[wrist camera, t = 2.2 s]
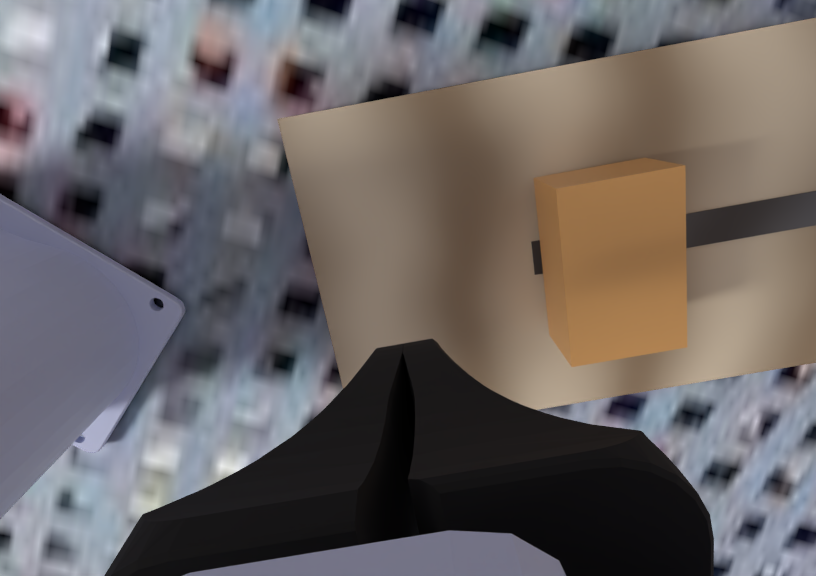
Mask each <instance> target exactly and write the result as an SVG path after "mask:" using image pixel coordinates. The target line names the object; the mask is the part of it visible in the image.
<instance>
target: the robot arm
mask: <svg viewBox="0 0 816 576" xmlns="http://www.w3.org/2000/svg"><path fill="white" fill-rule="evenodd" d="M154 298H158V299H160V300H161V301H162V302H163V304H164V306H163V307H158V306H157V305H156V304H155V303H154ZM184 313H185V306H184V304H183V302H182V301H181V300H180V299H179V298H177V297H175V296H174V295H172V294H170V293H169V292H167V291H165V290H163V289H162V288H160V287H158V286H157V285H155V284H153V283H151V282H150V281H148V280H146V279H145V278H143V277H141V276H140V275H138V274H136V273H134V272H133V271H131V270H129V269H128V268H126V267H124V266H123V265H121V264H119V263H117V262H116V261H114V260H112V259H111V258H109V257H107V256H105V255H104V254H102V253H100V252H99V251H97V250H95V249H94V248H92V247H90V246H88V245H87V244H85V243H83V242H82V241H80V240H78V239H77V238H75V237H73V236H71V235H70V234H68V233H66V232H65V231H63V230H61V229H59V228H58V227H56V226H54V225H53V224H51V223H49V222H48V221H46V220H44V219H42V218H41V217H39V216H37V215H36V214H34V213H32V212H30V211H29V210H27V209H25V208H24V207H22V206H20V205H19V204H17V203H15V202H13V201H12V200H10V199H8V198H7V197H5V196H3V195H2V194H0V519H1V518H2V517H3V516H4V515H5V514H6V513H7V512H8V510H9V509H10V508H11V507H12V506H13V505H14V504H15V503H16V502H17V501H18V500H19V499H20V498H21V497H22V496H23V495H24V494H25V493H26V492H27V491H28V490H29V489H30V487H31V486H32V485H33V484H34V483H35V482H36V481H37V480H38V479H39V478H40V477H41V476H42V475H43V474H44V473H45V472H46V471H47V470H48V469H49V468H50V467H51V466H52V464H53V463H54V462H55V461H56V460H57V459H58V458H59V457H60V456H61V455H62V454H63V453H64V452H65V451H66V450H67V449H68V448H69V447H70V446H71V445H74V446H76V447H78V448H80V449H82V450H84V451H86V452H89V453H95V452H98V451H99V450H100V449H101V448H102V447H103V446H104V445H105V444H106V442H107V440H108V439H109V437H110V436H111V434H112V432H113V431H114V429H115V427H116V426H117V424H118V422H119V421H120V419H121V418H122V416H123V414H124V413H125V411H126V409H127V408H128V406H129V404H130V403H131V401H132V399H133V398H134V396H135V395H136V393H137V391H138V390H139V388H140V386H141V385H142V383H143V381H144V380H145V378H146V377H147V375H148V373H149V372H150V370H151V368H152V367H153V365H154V363H155V362H156V360H157V358H158V357H159V355H160V354H161V352H162V350H163V349H164V347H165V345H166V344H167V342H168V340H169V339H170V337H171V336H172V334H173V332H174V331H175V329H176V327H177V326H178V324H179V322H180V321H181V319H182V317H183V316H184ZM81 434H83V435H84V437H81V436H80V435H81ZM713 560H714V537H713V531H712V525H711V519H710V514H709V512H708V511H707V509H706V507H705V505H704V504H703V502H702V500H701V498H700V496H699V495H698V493H697V492H696V490H695V489H694V488H693V487H692V485H691V484H690V483H689V482H688V480H687V479H686V478H685V477H684V475H683V474H682V473H681V472H680V470H679V469H678V468H677V467H676V466H675V465H674V464H673V463H672V462H671V461H670V459H669V458H668V457H667V456H666V455H665V454H664V453H663V452H662V451H661V450H660V449H659V448H658V447H657V446H656V445H655V444H653V443H652V442H651V441H650V440H649V439H648V438H647V437H646V435H645V434H644V433H643V432H642V431H638V430H630V429H622V428H614V427H606V426H599V425H591V424H586V423H581V422H577V421H573V420H568V419H564V418H560V417H556V416H553V415H550V414H546V413H543V412H540V411H537V410H535V409H532V408H529V407H527V406H524V405H521V404H519V403H517V402H514V401H512V400H510V399H508V398H506V397H504V396H502V395H500V394H498V393H496V392H494V391H492V390H491V389H489V388H487V387H486V386H484V385H483V384H481V383H480V382H478V381H477V380H476V379H474V378H473V377H472V376H471V375H469V374H468V373H467V372H466V371H464V370H463V369H462V368H461V367H460V366H459V365H458V364H456V363H455V362H454V361H453V360H452V359H451V358H450V357H449V356H448V355H447V354H446V353H445V351H444V350H443V349H442V348H441V347H440V345H439V344H438V342H436V341H435V340H434V339H426V340H420V341H415V342H409V343H403V344H397V345H392V346H386V347H380V348H376V349H375V350H374V352H373V353H372V354H371V356H370V357H369V358H368V359H367V361H366V362H365V363H364V365H363V366H362V367H361V369H360V370H359V371H358V372H357V374H356V375H355V376H354V377H353V378H352V380H351V381H350V382H349V383H348V385H347V386H346V387H345V388H344V389H343V390H342V391H341V392H340V393H339V394H338V395H337V396H336V397H335V398H334V400H333V401H332V402H331V403H330V404H329V405H328V406H327V407H326V408H325V409H324V410H323V411H322V412H321V413H320V414H319V415H317V416H316V417H315V418H314V419H313V420H312V421H311V422H310V423H308V424H307V425H306V426H305V427H303V428H302V429H301V430H300V431H299V432H297V433H296V434H295V435H293V436H292V437H291V438H289V439H288V440H286V441H285V442H283V443H282V444H280V445H279V446H278V447H276V448H275V449H273V450H272V451H270V452H269V453H267V454H266V455H264V456H263V457H261V458H260V459H258V460H257V461H255V462H253V463H251V464H250V465H248V466H246V467H244V468H243V469H241V470H239V471H237V472H236V473H234V474H232V475H230V476H228V477H226V478H224V479H222V480H220V481H218V482H216V483H215V484H213V485H210V486H208V487H206V488H204V489H202V490H200V491H198V492H195V493H193V494H191V495H188V496H186V497H184V498H181V499H179V500H177V501H174V502H172V503H170V504H167V505H165V506H163V507H160V508H158V509H155V510H153V511H150V512H148V513H145V514H143V515H142V517H141V518H140V519H139V521H138V522H137V524H136V526H135V527H134V529H133V530H132V532H131V534H130V535H129V537H128V539H127V540H126V542H125V543H124V545H123V547H122V548H121V550H120V551H119V553H118V555H117V556H116V558H115V560H114V561H113V563H112V564H111V566H110V568H109V569H108V571H107V572H106V574H105V576H713Z"/></svg>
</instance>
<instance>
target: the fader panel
mask: <svg viewBox="0 0 816 576" xmlns="http://www.w3.org/2000/svg"><path fill="white" fill-rule="evenodd" d="M278 123H279V128H280V132H281V136H282V140H283V144H284V148H285V152H286V156H287V160H288V164H289V168H290V173H291V177H292V181H293V185H294V189H295V193H296V197H297V201H298V205H299V209H300V214H301V218H302V222H303V226H304V230H305V234H306V238H307V242H308V246H309V250H310V254H311V259H312V263H313V267H314V271H315V275H316V279H317V283H318V287H319V291H320V295H321V300H322V304H323V308H324V312H325V316H326V320H327V324H328V328H329V332H330V336H331V340H332V345H333V349H334V353H335V357H336V361H337V365H338V369H339V373H340V377H341V381H342V386H343V389H344V388H345V387H346V386H347V385H348V383H349V382H350V381H351V380H352V378H353V377H354V376H355V375H356V374H357V372H358V371H359V370H360V369H361V367H362V366H363V365H364V363H365V362H366V361H367V359H368V358H369V357H370V356H371V354H372V353H373V352H374V350H375V349H376V348H380V347H386V346H392V345H397V344H403V343H409V342H415V341H420V340H426V339H434V340H435V341H436V342H438V344H439V345H440V347H441V348H442V349H443V350H444V351H445V353H446V354H447V355H448V356H449V357H450V358H451V359H452V360H453V361H454V362H455V363H456V364H458V365H459V366H460V367H461V368H462V369H463V370H464V371H466V372H467V373H468V374H469V375H471V376H472V377H473V378H474V379H476V380H477V381H478V382H480V383H481V384H483V385H484V386H486V387H487V388H489V389H491V390H492V391H494V392H496V393H498V394H500V395H502V396H504V397H506V398H508V399H510V400H512V401H514V402H517V403H519V404H521V405H524V406H527V407H529V408H532V409H535V410H538V409H544V408H550V407H556V406H562V405H567V404H573V403H579V402H585V401H591V400H597V399H603V398H609V397H615V396H621V395H627V394H633V393H638V392H644V391H650V390H656V389H662V388H668V387H674V386H680V385H686V384H692V383H698V382H703V381H709V380H715V379H721V378H727V377H733V376H739V375H745V374H751V373H757V372H763V371H768V370H774V369H780V368H786V367H792V366H798V365H804V364H810V363H816V18H812V19H806V20H801V21H796V22H791V23H785V24H780V25H775V26H769V27H764V28H759V29H753V30H748V31H743V32H737V33H732V34H727V35H721V36H716V37H711V38H705V39H700V40H695V41H690V42H684V43H679V44H674V45H668V46H663V47H658V48H652V49H647V50H642V51H636V52H631V53H626V54H620V55H615V56H610V57H605V58H599V59H594V60H589V61H583V62H578V63H573V64H567V65H562V66H557V67H551V68H546V69H541V70H535V71H530V72H525V73H520V74H514V75H509V76H504V77H498V78H493V79H488V80H482V81H477V82H472V83H466V84H461V85H456V86H450V87H445V88H440V89H434V90H429V91H424V92H419V93H413V94H408V95H403V96H397V97H392V98H387V99H381V100H376V101H371V102H365V103H360V104H355V105H349V106H344V107H339V108H334V109H328V110H323V111H318V112H312V113H307V114H302V115H296V116H291V117H286V118H280V119H278ZM640 158H650V159H655V160H660V161H666V162H671V163H676V164H681V165H685V171H686V265H687V348H681V349H675V350H669V351H664V352H658V353H652V354H646V355H640V356H634V357H629V358H623V359H617V360H611V361H605V362H599V363H594V364H588V365H582V366H576V367H571V366H570V364H569V363H568V361H567V360H566V358H565V357H564V355H563V354H562V353H561V351H560V350H559V348H558V347H557V345H556V344H555V343H554V341H553V340H552V338H551V337H550V335H549V327H548V317H547V307H546V297H545V287H544V277H543V267H542V258H541V248H540V238H539V228H538V218H537V208H536V198H535V188H534V178H535V177H541V176H546V175H552V174H557V173H563V172H568V171H574V170H579V169H585V168H590V167H596V166H601V165H607V164H612V163H618V162H623V161H629V160H634V159H640Z"/></svg>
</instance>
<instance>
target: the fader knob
mask: <svg viewBox="0 0 816 576" xmlns="http://www.w3.org/2000/svg"><path fill="white" fill-rule="evenodd" d="M534 188H535V198H536V208H537V218H538V228H539V238H540V248H541V258H542V267H543V277H544V287H545V297H546V307H547V317H548V327H549V335H550V337H551V338H552V340H553V341H554V343H555V344H556V345H557V347H558V348H559V350H560V351H561V353H562V354H563V355H564V357H565V358H566V360H567V361H568V363H569V364H570V366H571V367H576V366H582V365H588V364H594V363H599V362H605V361H611V360H617V359H623V358H629V357H634V356H640V355H646V354H652V353H658V352H664V351H669V350H675V349H681V348H687V265H686V171H685V165H681V164H676V163H671V162H666V161H660V160H655V159H650V158H640V159H634V160H629V161H623V162H618V163H612V164H607V165H601V166H596V167H590V168H585V169H579V170H574V171H568V172H563V173H557V174H552V175H546V176H541V177H535V178H534Z"/></svg>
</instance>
